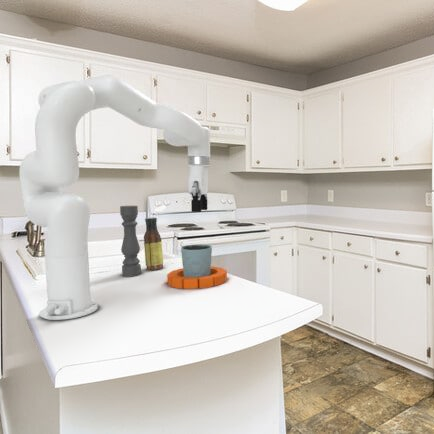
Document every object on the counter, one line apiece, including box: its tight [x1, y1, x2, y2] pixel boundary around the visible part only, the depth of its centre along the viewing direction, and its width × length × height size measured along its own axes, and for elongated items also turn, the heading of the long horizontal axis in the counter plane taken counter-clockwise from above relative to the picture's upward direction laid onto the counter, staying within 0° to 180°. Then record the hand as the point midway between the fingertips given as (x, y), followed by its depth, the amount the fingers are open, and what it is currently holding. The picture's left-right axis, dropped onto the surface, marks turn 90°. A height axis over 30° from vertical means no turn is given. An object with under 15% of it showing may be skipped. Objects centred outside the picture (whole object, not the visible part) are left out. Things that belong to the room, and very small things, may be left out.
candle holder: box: [119, 205, 142, 278], centre depth 147 cm, size 6×6×25 cm
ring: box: [166, 265, 228, 290], centre depth 139 cm, size 19×19×3 cm
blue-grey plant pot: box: [180, 243, 213, 277], centre depth 139 cm, size 10×10×12 cm
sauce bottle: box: [143, 216, 164, 271], centre depth 156 cm, size 7×6×20 cm
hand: (199, 210), depth 144 cm, fingers open, 9 cm apart
